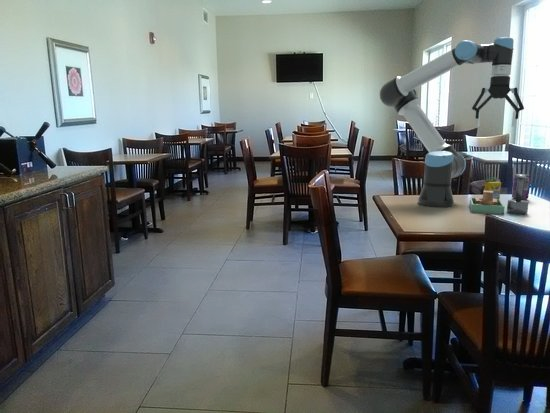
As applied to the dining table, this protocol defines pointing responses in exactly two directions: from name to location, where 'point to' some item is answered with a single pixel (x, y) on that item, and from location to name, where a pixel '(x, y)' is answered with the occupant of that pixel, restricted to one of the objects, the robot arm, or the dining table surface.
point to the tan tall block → (486, 199)
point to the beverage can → (525, 186)
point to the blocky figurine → (518, 200)
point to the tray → (487, 207)
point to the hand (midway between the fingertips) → (495, 126)
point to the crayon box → (493, 187)
